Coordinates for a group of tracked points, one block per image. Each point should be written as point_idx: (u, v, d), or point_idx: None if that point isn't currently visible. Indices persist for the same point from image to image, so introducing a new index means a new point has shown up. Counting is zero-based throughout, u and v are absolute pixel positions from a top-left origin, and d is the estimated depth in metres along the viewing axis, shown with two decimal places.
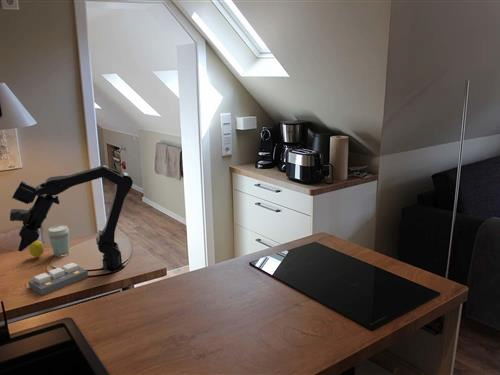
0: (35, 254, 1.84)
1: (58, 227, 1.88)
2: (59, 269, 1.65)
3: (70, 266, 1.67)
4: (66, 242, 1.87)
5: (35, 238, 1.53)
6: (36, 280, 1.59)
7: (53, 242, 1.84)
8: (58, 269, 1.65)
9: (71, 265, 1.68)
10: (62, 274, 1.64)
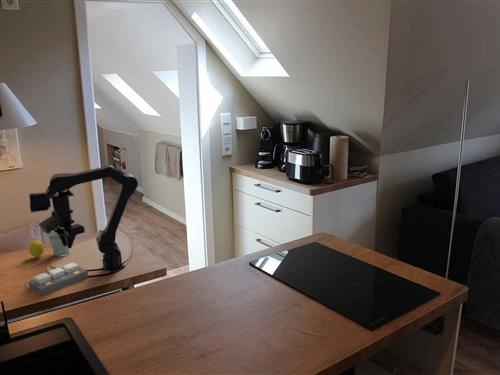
0: (35, 254, 1.84)
1: None
2: (59, 269, 1.65)
3: (70, 266, 1.67)
4: None
5: (83, 230, 1.60)
6: (36, 280, 1.59)
7: (53, 242, 1.84)
8: (58, 269, 1.65)
9: (71, 265, 1.68)
10: (62, 274, 1.64)
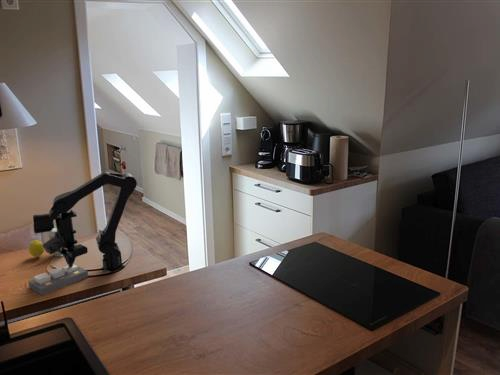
0: (35, 254, 1.84)
1: None
2: (59, 269, 1.65)
3: (70, 267, 1.68)
4: None
5: (86, 251, 1.62)
6: (36, 280, 1.59)
7: None
8: (58, 269, 1.65)
9: None
10: (62, 274, 1.64)
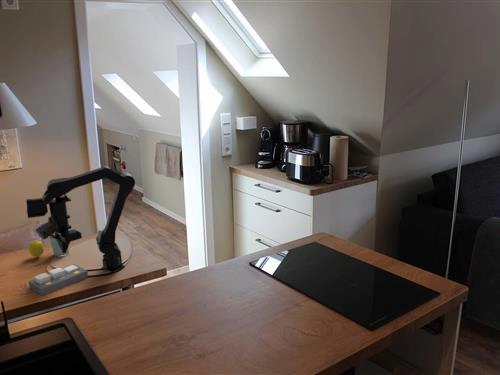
0: (35, 254, 1.84)
1: None
2: (59, 269, 1.65)
3: (70, 268, 1.68)
4: None
5: (80, 236, 1.59)
6: (36, 280, 1.59)
7: (53, 242, 1.84)
8: (58, 269, 1.65)
9: (71, 268, 1.68)
10: (62, 274, 1.64)
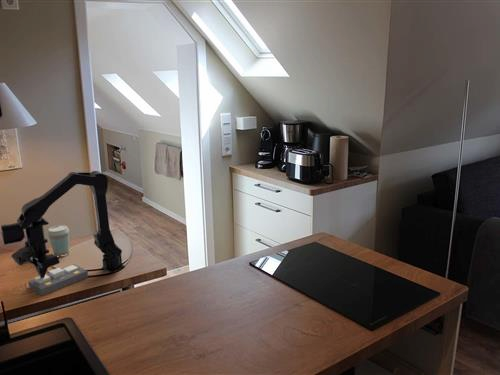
0: None
1: (58, 227, 1.88)
2: (59, 269, 1.65)
3: (70, 268, 1.68)
4: (66, 242, 1.87)
5: (58, 261, 1.54)
6: (36, 281, 1.59)
7: (53, 242, 1.84)
8: (58, 269, 1.65)
9: (71, 268, 1.68)
10: (62, 274, 1.64)
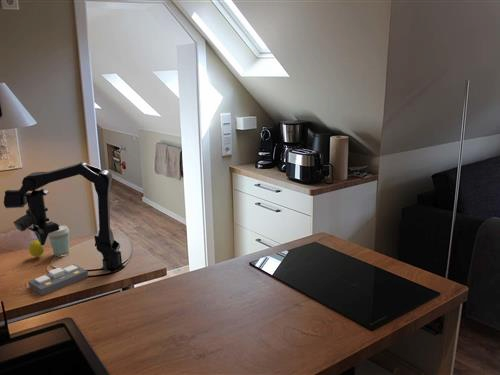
0: (35, 254, 1.84)
1: None
2: (59, 269, 1.65)
3: (70, 268, 1.68)
4: (66, 242, 1.87)
5: (57, 228, 1.63)
6: (36, 282, 1.59)
7: (53, 242, 1.84)
8: (58, 269, 1.65)
9: (71, 268, 1.68)
10: (62, 274, 1.64)
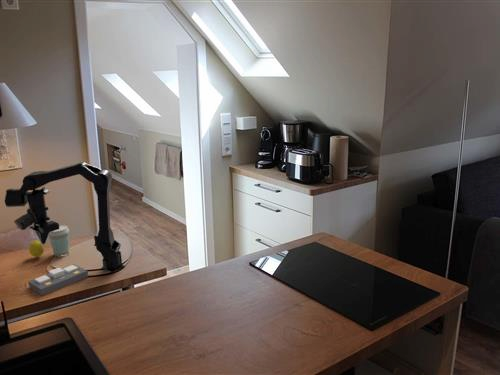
0: (35, 254, 1.84)
1: None
2: (59, 269, 1.65)
3: (70, 268, 1.68)
4: (66, 242, 1.87)
5: (58, 227, 1.64)
6: (36, 282, 1.59)
7: (53, 242, 1.84)
8: (58, 269, 1.65)
9: (71, 268, 1.68)
10: (62, 274, 1.64)
